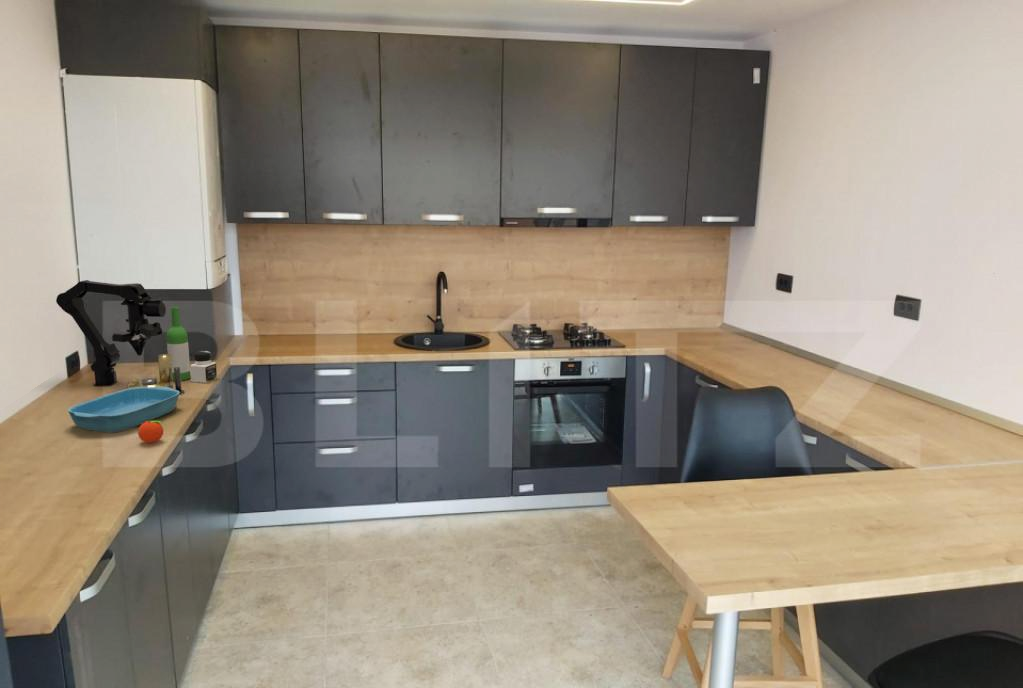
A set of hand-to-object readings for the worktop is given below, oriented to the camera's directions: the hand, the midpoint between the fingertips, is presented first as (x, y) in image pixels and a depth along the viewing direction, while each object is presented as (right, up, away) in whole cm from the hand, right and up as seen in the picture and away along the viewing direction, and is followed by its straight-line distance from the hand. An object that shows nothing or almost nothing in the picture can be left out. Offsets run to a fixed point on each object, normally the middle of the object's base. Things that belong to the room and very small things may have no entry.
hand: (139, 355), depth 269 cm
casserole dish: (+16, -21, -37) cm, 45 cm away
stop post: (+19, -14, -7) cm, 24 cm away
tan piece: (+11, -12, -12) cm, 20 cm away
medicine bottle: (+20, -11, +11) cm, 26 cm away
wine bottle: (+10, -10, +12) cm, 19 cm away
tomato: (+36, -26, -57) cm, 72 cm away
